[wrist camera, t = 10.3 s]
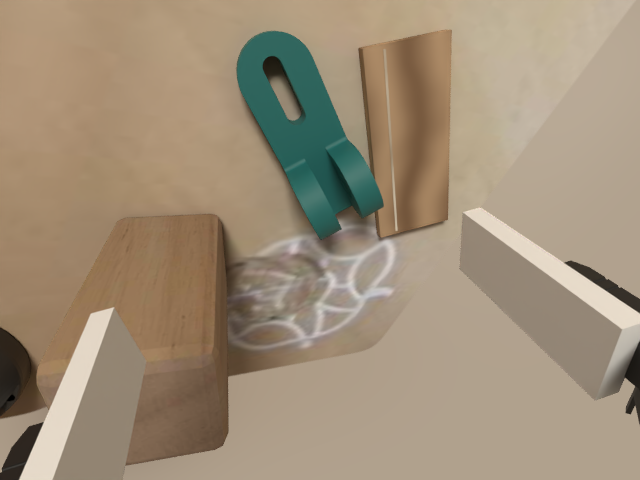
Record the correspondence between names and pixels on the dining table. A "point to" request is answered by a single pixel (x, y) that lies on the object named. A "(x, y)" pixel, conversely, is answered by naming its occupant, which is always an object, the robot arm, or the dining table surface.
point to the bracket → (307, 134)
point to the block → (160, 329)
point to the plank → (409, 128)
